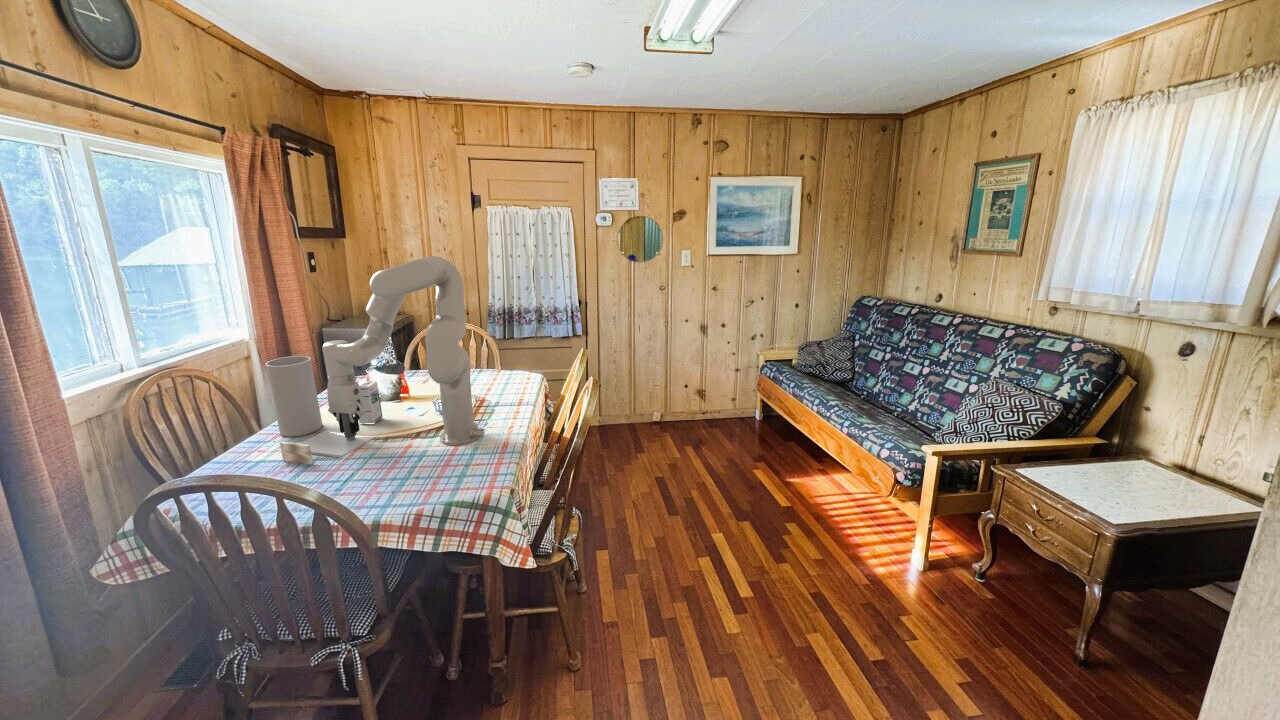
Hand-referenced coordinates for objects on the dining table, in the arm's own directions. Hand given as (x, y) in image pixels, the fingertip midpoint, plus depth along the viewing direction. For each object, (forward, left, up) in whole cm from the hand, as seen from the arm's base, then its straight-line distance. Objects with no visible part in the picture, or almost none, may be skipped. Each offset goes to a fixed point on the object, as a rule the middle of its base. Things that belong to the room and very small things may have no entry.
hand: (350, 431), depth 169 cm
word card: (+4, +17, -3) cm, 18 cm away
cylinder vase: (+23, -3, -3) cm, 23 cm away
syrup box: (+5, -15, -3) cm, 16 cm away
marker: (0, 0, -3) cm, 3 cm away
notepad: (+4, +4, -3) cm, 7 cm away
